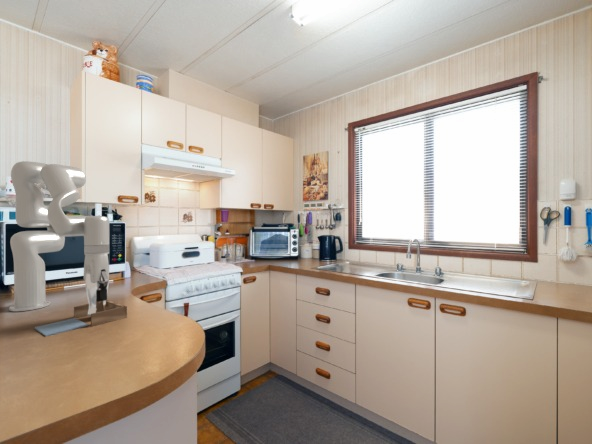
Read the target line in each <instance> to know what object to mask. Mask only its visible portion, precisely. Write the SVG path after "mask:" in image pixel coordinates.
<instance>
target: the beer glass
mask: <svg viewBox="0 0 592 444" xmlns="http://www.w3.org/2000/svg"><path fill="white" fill-rule="evenodd" d="M99 281H103V279H102V277H101V276H100V279H99ZM109 282H110V281H109ZM109 282H108V285H107V294H108V293H109V292H108V291H109V286H110V285H109ZM84 284H85V285H84V286H85V292H86V297H87V298H86V299H87V302H88V303H87V304H89V305H88V312H87V316H89V317H91V314H92V313H97V312H101V311H105V310H107V306H106V300H105V301H100V302H97V301H96V290H98V289H97V281H96V283H92V282H91V279H90V274H89V273H86V281H85V283H84ZM100 285H101V283H100Z"/></svg>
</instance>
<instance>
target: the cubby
mask: <svg viewBox="0 0 592 444" xmlns="http://www.w3.org/2000/svg"><path fill="white" fill-rule="evenodd" d="M88 305H89V304H88V303H86V304H80V305H78V306H77V305H76V306H74V307H73V318H75V319H78V318H82V317H87V316H88V315H87V312H88ZM106 306H107V310H105V311H101V312H97V313H92V314H91V316H90V327H94V326H99V325H103V324H107V323H111V322H114V321H118V320H122V319H125V318H127V317H128V307H127V306H126V305H124V304H121V303H117V302H115V301H112V300H108V299H107V300H106Z"/></svg>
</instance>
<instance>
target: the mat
mask: <svg viewBox="0 0 592 444" xmlns="http://www.w3.org/2000/svg"><path fill="white" fill-rule="evenodd" d="M88 326H89V325H88V323H86V322H83V321H81V320H80V319H78V318H74V317H73V318H68V319H64V320H60V321H56V322H51V323H48V324H42V325H39V326H35V327H33V328H34V329H35V330H36V331H37V332H39V333H40V334H41V335H43V336H44V337H49V336H53V335H58V334H62V333H65V332H68V331H69V332H70V331H72V330H77V329H81V328H84V327H88Z"/></svg>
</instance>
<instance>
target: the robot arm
mask: <svg viewBox="0 0 592 444" xmlns="http://www.w3.org/2000/svg"><path fill="white" fill-rule="evenodd" d="M10 180H11V183H12V186H13V188H14V193H15V222H16V224H17V226H19V227H21V228H28V229H29V228H46V229H47V230H25V231H24V230H23V231H19V232H17V233H14V234H13V235H12V236H11V237H10V241H9V243H10V249H11V252H12V253H11V254H12V258H13V276H14V277H13V279H14V280H13V281H14V282H13V289H14V290H13V291H14V293H13V294H14V297H13V298H14V299H13V300H14V301H13V303H14V305H13V304H12V305H11V306H9V307H8V311H10V312H25V311H32V310H37V309H38V310H39V309H43V308H46V307H48V306H50V305H51V301H50V300H46V297H47V296H46V264H45V263H46V262H45V261H44V259H43V258H42V257H41V256H40V255H39V254H46V253H55V252H60V251H61V250H62V249H64V247H65V243H66V242H65V241H66V237H83V245H84V246H83V248H84V249H83V251H84V253H83V254H84V263H83V281H85V282H86V273H89V274H90V279H91V282H92V283H96V281H97V289H98V290H96V301H97V302H100V301H105V300H108V293H107V285H108V282H110V281H109V279H110V265H109V254H110V219H109V217H107V216H104V215H66V214H65V213H64V211H63V208H64V207H67V206H70V205H72V204H74V203H76V202H77V201H79V199H80V198H81V193H80V191H79V190H78V188H82V187H83V186H85V184H86V183H87V178H86V175H85V173H84V171H83V170H82V169H81V168H78V167H77V166H76V167H75V166H70V165H69V166H68V165H63V164H58V163H57V164H55V163H45V162H44V163H42V162H36V161H30V160H29V161H28V160H27V161H24V160H23V161H18V162H16V163H15V164H14V165H13V166H12V168H11V171H10ZM36 184H41V185H45V188H47V190H48V193H49V194H50V196H51V198H52V200H51V201H50V202H49V204H48V205H45V203H44V194H43V192H42V190H41V188H40V187H39V186H38V185H36ZM100 276H101V277H102V279H103V281H99V279H100ZM100 283H101V285H100Z"/></svg>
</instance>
